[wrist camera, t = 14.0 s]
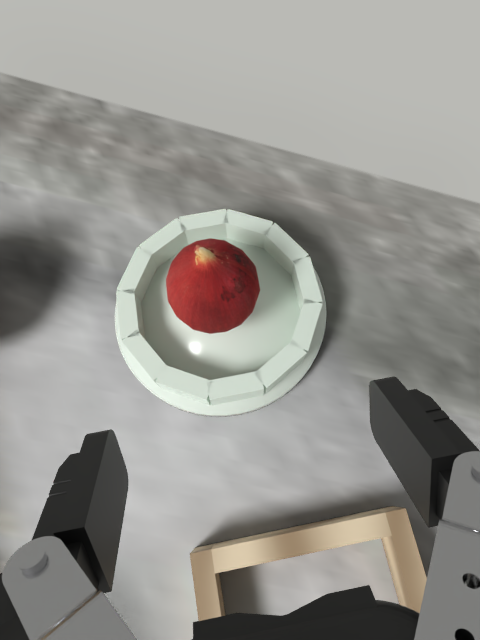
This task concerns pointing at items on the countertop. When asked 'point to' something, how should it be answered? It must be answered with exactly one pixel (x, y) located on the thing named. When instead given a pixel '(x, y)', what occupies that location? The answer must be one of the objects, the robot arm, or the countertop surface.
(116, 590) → the countertop surface
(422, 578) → the holder
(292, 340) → the dish
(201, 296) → the onion
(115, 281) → the countertop surface
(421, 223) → the countertop surface
